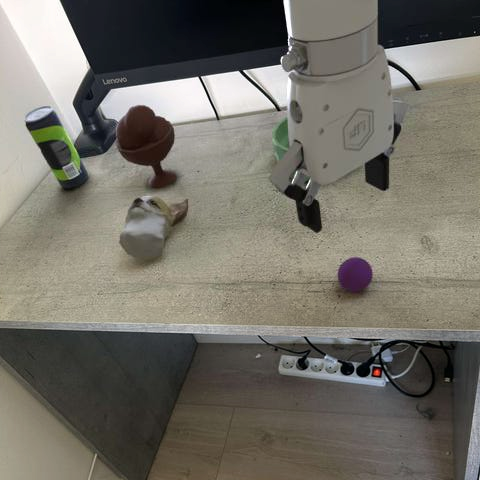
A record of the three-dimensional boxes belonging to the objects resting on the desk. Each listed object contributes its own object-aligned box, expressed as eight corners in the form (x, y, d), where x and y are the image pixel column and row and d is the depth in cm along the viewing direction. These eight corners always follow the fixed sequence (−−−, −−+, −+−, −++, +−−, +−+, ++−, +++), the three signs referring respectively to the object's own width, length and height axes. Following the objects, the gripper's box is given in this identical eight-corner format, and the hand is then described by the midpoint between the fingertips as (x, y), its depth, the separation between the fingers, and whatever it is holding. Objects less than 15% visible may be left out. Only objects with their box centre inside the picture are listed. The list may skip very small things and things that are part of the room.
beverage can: (93, 170, 104) (57, 102, 93) (83, 187, 100) (45, 118, 89) (67, 175, 106) (29, 108, 95) (57, 191, 102) (16, 124, 91)
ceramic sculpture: (90, 228, 73) (122, 175, 83) (113, 272, 78) (140, 218, 89) (156, 221, 70) (181, 168, 80) (175, 268, 76) (196, 213, 86)
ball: (357, 269, 66) (355, 245, 63) (380, 285, 64) (379, 261, 60) (332, 286, 65) (328, 262, 62) (354, 303, 63) (352, 279, 59)
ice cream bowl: (196, 162, 96) (170, 86, 85) (176, 197, 89) (146, 119, 79) (149, 165, 100) (119, 92, 89) (127, 198, 93) (91, 124, 82)
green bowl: (326, 127, 93) (322, 96, 89) (383, 152, 83) (383, 118, 79) (262, 164, 90) (255, 134, 86) (314, 194, 80) (309, 162, 76)
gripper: (279, 98, 38) (305, 259, 51) (438, 14, 42) (426, 182, 55) (229, 77, 43) (264, 228, 56) (377, 2, 47) (378, 160, 60)
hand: (344, 205), depth 55 cm, fingers open, 9 cm apart
